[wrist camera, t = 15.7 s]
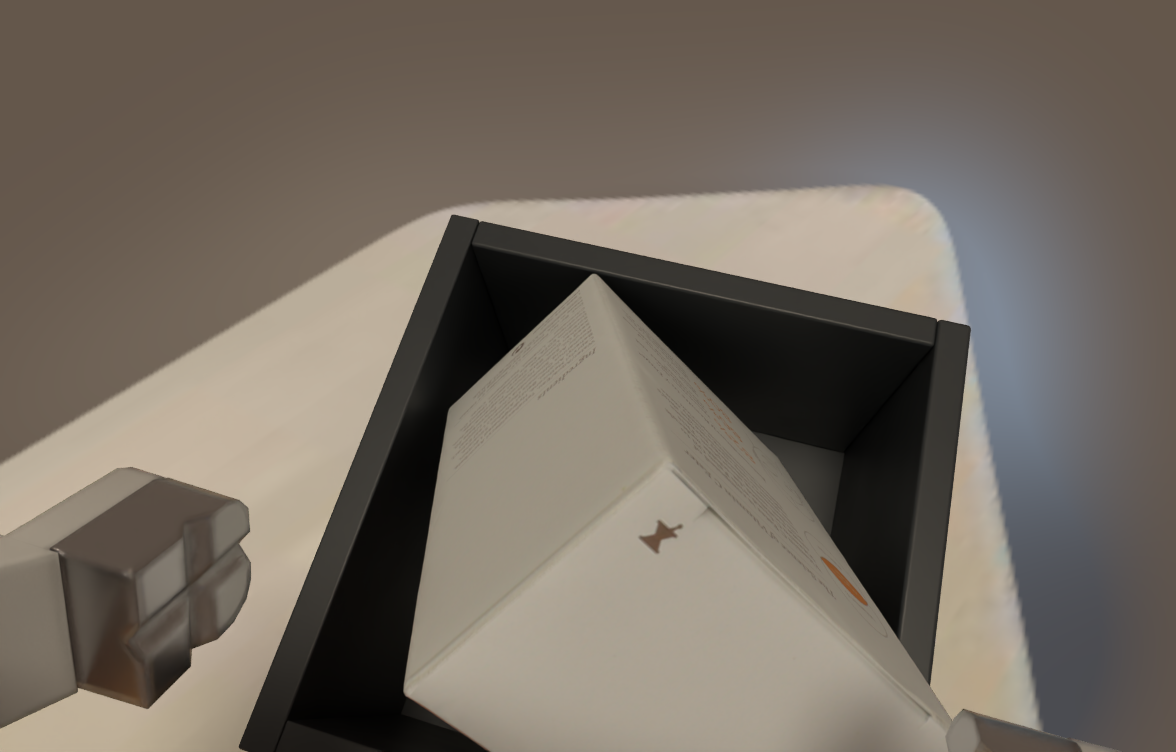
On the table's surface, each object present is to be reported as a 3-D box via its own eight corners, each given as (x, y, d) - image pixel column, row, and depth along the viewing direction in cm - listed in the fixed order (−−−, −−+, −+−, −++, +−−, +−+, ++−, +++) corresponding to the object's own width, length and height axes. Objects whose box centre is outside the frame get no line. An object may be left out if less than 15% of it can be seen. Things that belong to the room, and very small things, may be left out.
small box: (444, 405, 22) (382, 692, 12) (595, 264, 20) (664, 452, 11) (640, 575, 24) (721, 927, 14) (783, 458, 23) (977, 754, 13)
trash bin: (864, 444, 28) (972, 324, 19) (797, 868, 24) (899, 971, 15) (505, 358, 30) (451, 213, 21) (376, 732, 26) (236, 748, 17)
